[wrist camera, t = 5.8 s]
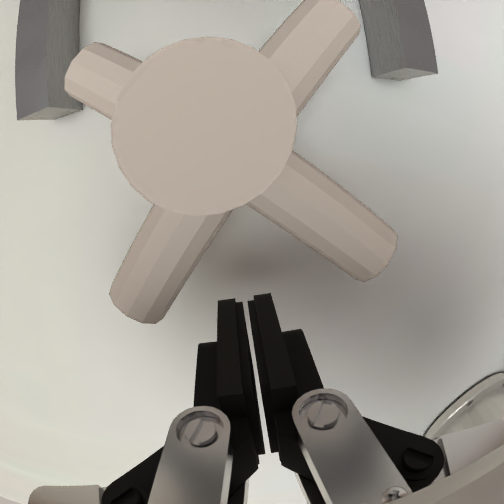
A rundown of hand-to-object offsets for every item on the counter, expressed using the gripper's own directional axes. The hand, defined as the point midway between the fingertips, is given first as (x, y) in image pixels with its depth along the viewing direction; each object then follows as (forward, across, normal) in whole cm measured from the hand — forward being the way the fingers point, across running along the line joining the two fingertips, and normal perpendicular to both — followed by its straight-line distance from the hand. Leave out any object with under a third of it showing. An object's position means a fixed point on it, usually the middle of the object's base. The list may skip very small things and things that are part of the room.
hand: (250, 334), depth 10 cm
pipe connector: (+5, 0, -5) cm, 7 cm away
